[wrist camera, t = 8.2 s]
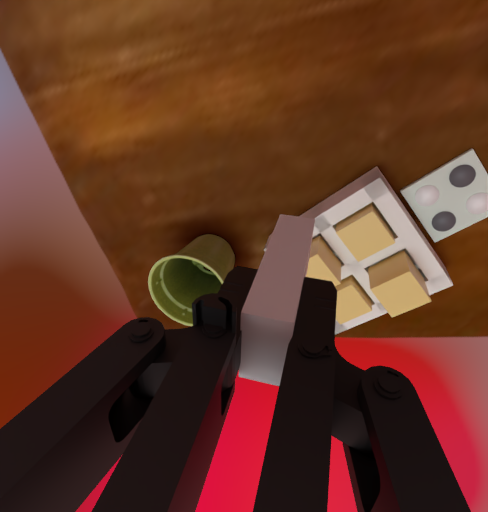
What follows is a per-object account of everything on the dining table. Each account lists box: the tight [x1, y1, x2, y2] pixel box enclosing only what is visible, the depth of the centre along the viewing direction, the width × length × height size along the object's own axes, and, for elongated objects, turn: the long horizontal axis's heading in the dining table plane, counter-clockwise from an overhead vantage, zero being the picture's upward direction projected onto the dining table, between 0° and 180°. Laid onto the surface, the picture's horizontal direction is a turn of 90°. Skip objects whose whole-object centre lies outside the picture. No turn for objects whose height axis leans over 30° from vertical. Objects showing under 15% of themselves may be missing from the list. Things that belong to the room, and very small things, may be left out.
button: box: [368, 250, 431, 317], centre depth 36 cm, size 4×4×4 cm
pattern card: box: [400, 148, 488, 242], centre depth 35 cm, size 7×7×1 cm
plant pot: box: [148, 234, 235, 326], centre depth 42 cm, size 9×9×9 cm
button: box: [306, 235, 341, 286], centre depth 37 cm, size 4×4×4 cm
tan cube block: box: [335, 274, 372, 324], centre depth 41 cm, size 4×4×4 cm
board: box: [264, 166, 453, 334], centre depth 39 cm, size 14×14×4 cm
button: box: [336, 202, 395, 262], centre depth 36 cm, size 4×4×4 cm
